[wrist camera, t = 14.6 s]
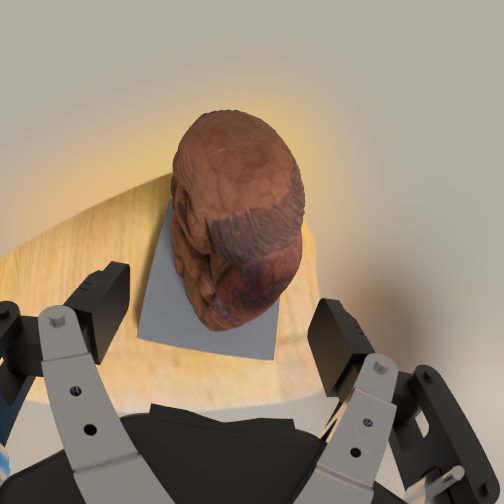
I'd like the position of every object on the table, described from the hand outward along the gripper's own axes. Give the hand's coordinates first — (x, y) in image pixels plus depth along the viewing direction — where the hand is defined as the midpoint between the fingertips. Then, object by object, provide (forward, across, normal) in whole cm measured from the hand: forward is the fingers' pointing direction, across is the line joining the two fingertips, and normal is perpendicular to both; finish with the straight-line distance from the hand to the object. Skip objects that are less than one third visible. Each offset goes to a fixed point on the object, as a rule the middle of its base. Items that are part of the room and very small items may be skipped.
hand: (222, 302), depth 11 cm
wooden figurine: (+15, 0, +7) cm, 16 cm away
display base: (+17, 0, +8) cm, 19 cm away
